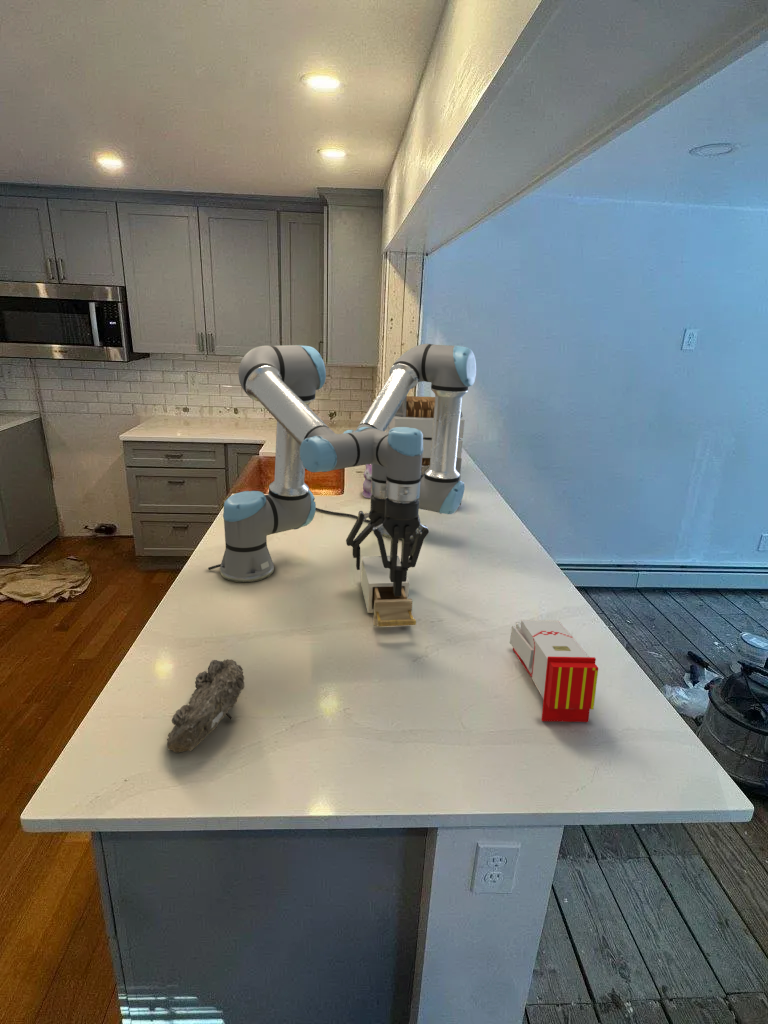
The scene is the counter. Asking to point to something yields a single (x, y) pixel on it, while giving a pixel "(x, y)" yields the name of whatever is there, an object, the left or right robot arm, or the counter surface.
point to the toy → (556, 669)
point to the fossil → (206, 705)
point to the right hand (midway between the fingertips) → (382, 567)
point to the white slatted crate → (423, 424)
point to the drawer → (391, 608)
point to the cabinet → (376, 578)
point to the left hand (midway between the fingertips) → (397, 593)
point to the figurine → (367, 481)
